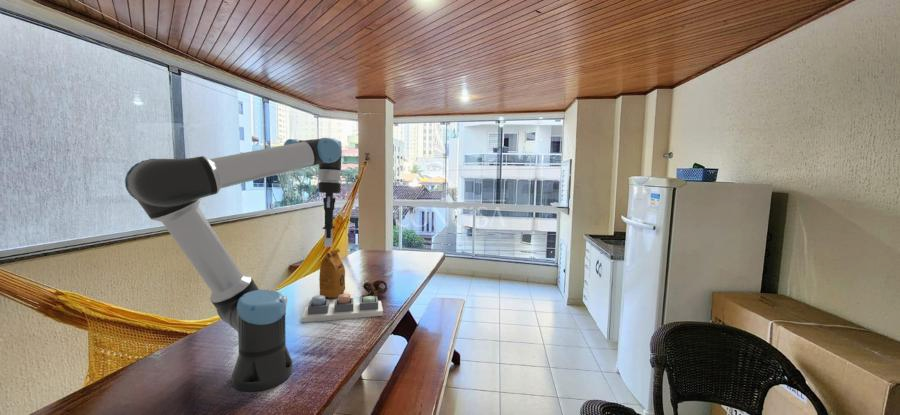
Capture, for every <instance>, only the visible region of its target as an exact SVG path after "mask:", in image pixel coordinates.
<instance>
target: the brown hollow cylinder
mask: <svg viewBox="0 0 900 415" xmlns="http://www.w3.org/2000/svg"><path fill="white" fill-rule="evenodd" d="M382 284H383V285H384V288H382V287H380V285H382ZM362 287H363V289H364V290H365V291H366V292H367V293H368V294H370V293H373V294H372V296H377V297H380V296H383V295H385V294H386V292H387V291H388V284H387V282H386V281H385V280H383V279H375V280H373V281H372V282H371V283H370V282H368V281H367V282H364V283H363V285H362Z"/></svg>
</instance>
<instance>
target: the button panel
mask: <svg viewBox="0 0 900 415" xmlns="http://www.w3.org/2000/svg"><path fill="white" fill-rule="evenodd" d="M363 297H364V296H360V297H359V302H354V297H351V300H350V303H349V304H338V298H335V299H334V303H330V300H329V299H325V305H324V306H312V300H310V301H309V303H308V305H306V306H305V309H304V312H303V315H302V317H301V318H302V319H301V320H302V321H301V322H302V323H312V322H313V323H314V322H323V321H324V322H325V321H333V320H334V321H335V320H345V319H357V318H369V317H371V318H372V317H382V316H384V309H383V304H382V300H379V298H378V296H374V297H375V302H365V303H363Z"/></svg>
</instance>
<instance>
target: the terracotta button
mask: <svg viewBox="0 0 900 415" xmlns="http://www.w3.org/2000/svg"><path fill="white" fill-rule="evenodd" d="M351 298H352V297H351V294H350V293H341V294H340V295H338V296H337V299H338V304H349V303H350V300H351Z"/></svg>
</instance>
